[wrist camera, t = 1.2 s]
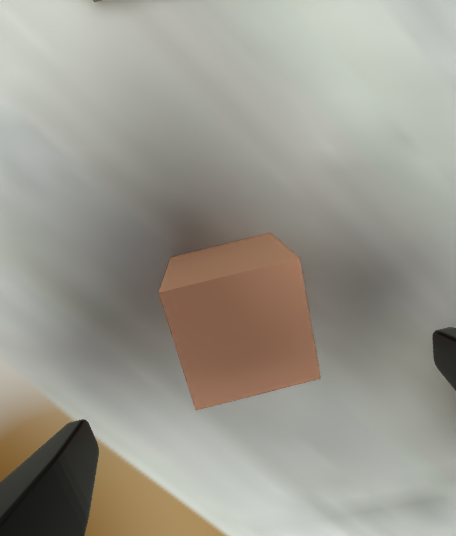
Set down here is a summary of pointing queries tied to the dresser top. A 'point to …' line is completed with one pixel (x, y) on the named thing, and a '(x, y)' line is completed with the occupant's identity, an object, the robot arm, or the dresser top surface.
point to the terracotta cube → (239, 319)
